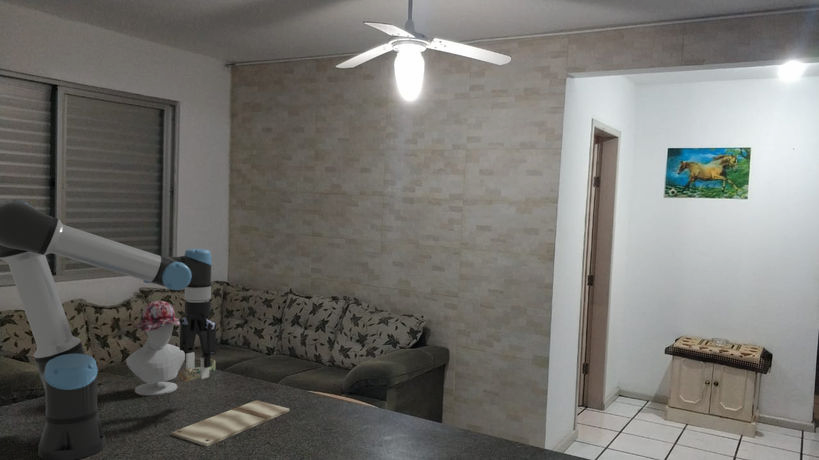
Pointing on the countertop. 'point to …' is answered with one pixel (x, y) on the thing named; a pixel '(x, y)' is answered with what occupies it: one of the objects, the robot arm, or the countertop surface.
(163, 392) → the bust with hat
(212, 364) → the figurine
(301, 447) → the countertop surface
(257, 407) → the board
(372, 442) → the countertop surface
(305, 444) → the countertop surface
